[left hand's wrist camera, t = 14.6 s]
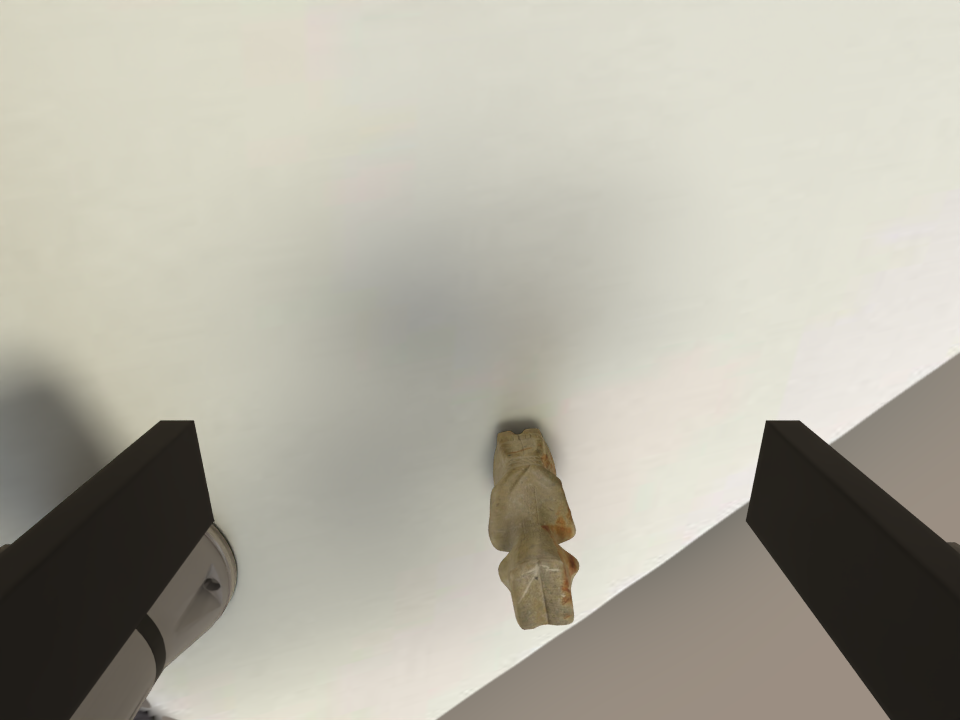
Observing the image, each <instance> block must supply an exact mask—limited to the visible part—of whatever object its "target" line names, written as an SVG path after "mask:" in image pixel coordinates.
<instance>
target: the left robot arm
mask: <svg viewBox="0 0 960 720" xmlns="http://www.w3.org/2000/svg"><path fill="white" fill-rule="evenodd" d="M213 522H214V518H213V513H212V508H211V503H210V498H209V493H208V488H207V483H206V478H205V473H204V468H203V463H202V458H201V453H200V448H199V443H198V438H197V433H196V428H195V423H194V421H159V422H158V423H157V424H156V425H155V426H153V427H152V428H151V429H150V430H149V431H147V432H146V433H145V434H144V435H142V436H141V437H140V438H139V439H138V440H136V441H135V442H134V443H133V444H132V445H130V446H129V447H128V448H127V449H126V450H124V451H123V452H122V453H121V454H120V455H118V456H117V457H116V458H115V459H114V460H112V461H111V462H110V463H109V464H108V465H106V466H105V467H104V468H103V469H101V470H100V471H99V472H98V473H97V474H95V475H94V476H93V477H92V478H91V479H89V480H88V481H87V482H86V483H85V484H83V485H82V486H81V487H80V488H79V489H77V490H76V491H75V492H74V493H73V494H71V495H70V496H69V497H68V498H67V499H65V500H64V501H63V502H62V503H60V504H59V505H58V506H57V507H56V508H54V509H53V510H52V511H51V512H50V513H48V514H47V515H46V516H45V517H44V518H42V519H41V520H40V521H39V522H38V523H36V524H35V525H34V526H33V527H32V528H30V529H29V530H28V531H27V532H26V533H24V534H23V535H22V536H21V537H19V538H18V539H17V540H16V541H15V542H13V543H12V544H5V545H4V546H2V547H0V720H133V719H134V717H135V715H136V714H137V712H138V710H139V709H140V707H141V705H142V704H143V702H144V700H145V699H146V697H147V696H148V694H149V692H150V691H151V689H152V687H153V685H154V684H155V682H156V681H157V679H158V677H159V676H160V674H161V673H162V671H163V670H164V668H165V667H167V666H168V665H169V664H170V663H171V662H172V661H173V660H175V659H176V658H177V657H178V656H179V655H180V654H181V653H183V652H184V651H185V650H186V649H187V648H188V647H189V646H190V645H192V644H193V643H194V642H195V641H196V640H197V639H198V638H200V637H201V636H202V635H203V634H204V633H205V632H206V631H208V630H209V629H210V628H211V627H212V626H213V624H214V623H215V622H216V621H217V620H218V619H219V617H220V616H221V615H222V613H223V612H224V610H225V608H226V606H227V604H228V603H229V601H230V599H231V597H232V595H233V593H234V590H235V586H236V580H237V570H236V563H235V559H234V556H233V553H232V551H231V549H230V547H229V545H228V543H227V542H226V540H225V538H224V537H223V536H222V534H221V533H220V532H219V531H218V529H217V528H216V527H215V526H214V525H213V524H212V523H213ZM746 522H747V523H748V525H749V526H750V527H751V529H752V530H753V531H754V533H755V534H756V535H757V537H758V538H759V540H760V541H761V542H762V544H763V545H764V547H765V548H766V549H767V551H768V552H769V553H770V555H771V556H772V558H773V559H774V560H775V562H776V563H777V564H778V566H779V567H780V569H781V570H782V571H783V573H784V574H785V575H786V577H787V578H788V580H789V581H790V582H791V584H792V585H793V586H794V588H795V589H796V591H797V592H798V593H799V595H800V596H801V597H802V599H803V600H804V602H805V603H806V604H807V606H808V607H809V608H810V610H811V611H812V612H813V614H814V615H815V617H816V618H817V619H818V621H819V622H820V623H821V625H822V626H823V628H824V629H825V630H826V632H827V633H828V635H829V636H830V637H831V639H832V640H833V641H834V643H835V644H836V646H837V647H838V648H839V650H840V651H841V652H842V654H843V655H844V656H845V658H846V659H847V661H848V662H849V663H850V665H851V666H852V667H853V669H854V670H855V671H856V673H857V674H858V676H859V677H860V678H861V680H862V681H863V683H864V684H865V685H866V687H867V688H868V689H869V691H870V692H871V694H872V695H873V696H874V698H875V699H876V700H877V702H878V703H879V705H880V706H881V707H882V709H883V710H884V711H885V713H886V714H887V716H888V717H889V718H890V720H960V545H959V544H957V543H954V542H953V543H951V542H945V541H944V540H943V539H942V538H941V537H939V536H938V535H937V534H936V533H934V532H933V531H932V530H931V529H930V528H928V527H927V526H926V525H925V524H924V523H922V522H921V521H920V520H919V519H918V518H916V517H915V516H914V515H913V514H911V513H910V512H909V511H908V510H907V509H906V508H904V507H903V506H902V505H901V504H899V503H898V502H897V501H896V500H895V499H893V498H892V497H891V496H890V495H889V494H887V493H886V492H885V491H884V490H883V489H881V488H880V487H879V486H878V485H877V484H875V483H874V482H873V481H872V480H870V479H869V478H868V477H867V476H866V475H864V474H863V473H862V472H861V471H860V470H859V469H857V468H856V467H855V466H854V465H852V464H851V463H850V462H849V461H848V460H846V459H845V458H844V457H843V456H842V455H840V454H839V453H838V452H837V451H836V450H834V449H833V448H832V447H831V446H830V445H828V444H827V443H826V442H825V441H824V440H822V439H821V438H820V437H819V436H818V435H816V434H815V433H814V432H813V431H811V430H810V429H809V428H808V427H807V426H805V425H804V424H803V423H802V422H801V421H766V423H765V428H764V433H763V438H762V443H761V448H760V453H759V458H758V463H757V468H756V473H755V478H754V483H753V488H752V493H751V498H750V503H749V508H748V513H747V518H746Z"/></svg>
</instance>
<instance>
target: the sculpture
mask: <svg viewBox="0 0 960 720" xmlns="http://www.w3.org/2000/svg"><path fill="white" fill-rule="evenodd" d="M493 478H494V486H495V487H494V488H493V489H492V493H491V499H490V518H489V529H488V531H489V537H490V540H491V542H492V544H493V546H494V547H495V548H496V549H497V550H500V551H505V552H509V554H508V555H507V556H506V557H505V558H504V559H503V561H502V562H501V563H500V565H499V569H498V571H499V576H500V579H501V581H502V582H503V583H504V584H505V586H506V587H507V588H508V589H509V591H510V592H511V596H512V601H513V606H514V611H515V616H516V619H517V622H518V624H519V626H520V627H521V628H522V629H524V630H526V629H534V628H536V627H538V626H541V625H546V624H549V625H567V624H570V623H572V622H573V620H574V611H573V603H572V596H571V584H572V581H573V578H574V576H575V575H576V573H577V572H578V570H579V562H578V561H577V559H576V558H575V557H574V556H572V555H571V554H569V553H568V552H567V551H565V550H564V549H563V548H562V547H560V546H559V545H558V544H560V543H562V542H565V541H567V540H570V539H571V538H572V537H574V535H575V533H576V529H575V525H574V522H573V519H572V516H571V511H570V509H569V506H568V503H567V500H566V497H565V493H564V490H563V488H562V483H561V481H560V479H559V478H558V477H557V476H556V470H555V464H554V461H553V458H552V455H551V453H550V450H549V448H548V446H547V444H546V442H545V441H544V439H543V437H542V435H541V432H540V430H539V429H536V428H532V429H525V430H524V431H523V432H522V433H521V434H514V433H513V432H512V431H505V432H501V433H498V435H497V447H496V450H495V455H494V464H493Z"/></svg>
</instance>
